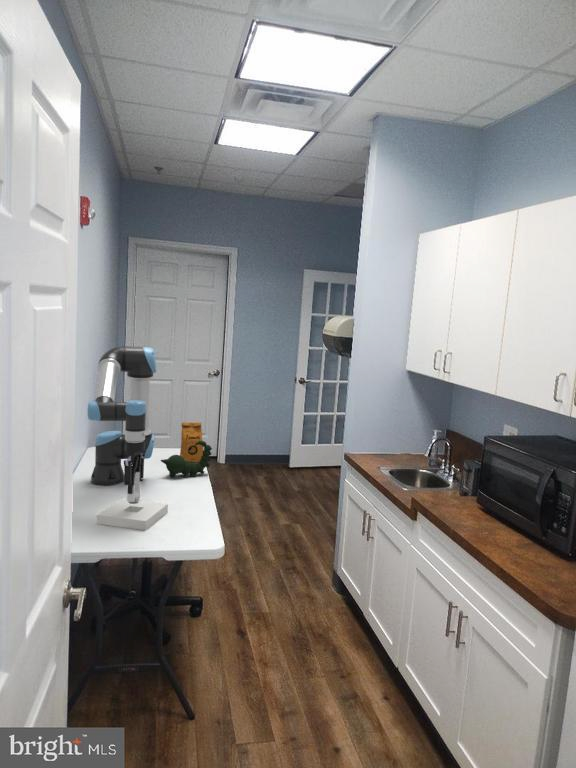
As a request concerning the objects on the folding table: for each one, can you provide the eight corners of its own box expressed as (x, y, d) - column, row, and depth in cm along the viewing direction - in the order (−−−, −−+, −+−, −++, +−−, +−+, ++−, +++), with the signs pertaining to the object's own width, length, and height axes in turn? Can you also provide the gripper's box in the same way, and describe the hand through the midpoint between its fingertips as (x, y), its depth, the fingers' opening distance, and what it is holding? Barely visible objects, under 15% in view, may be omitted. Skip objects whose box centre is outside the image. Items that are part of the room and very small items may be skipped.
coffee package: (203, 463, 297) (204, 424, 295) (180, 463, 294) (181, 423, 292) (202, 459, 307) (203, 420, 304) (179, 459, 304) (180, 420, 301)
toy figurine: (204, 475, 282) (156, 474, 271) (209, 439, 281) (161, 437, 269) (210, 480, 274) (160, 479, 262) (214, 443, 272) (165, 441, 261)
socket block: (122, 506, 225) (122, 498, 224) (167, 512, 221) (167, 503, 221) (96, 523, 205) (96, 514, 205) (145, 530, 202) (146, 521, 201)
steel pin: (131, 500, 215) (132, 470, 213) (140, 501, 214) (141, 471, 213) (126, 503, 211) (127, 473, 210) (136, 504, 210) (136, 474, 209)
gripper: (133, 446, 201) (132, 507, 203) (153, 437, 217) (152, 494, 220) (115, 444, 202) (113, 505, 205) (136, 435, 219) (134, 492, 221)
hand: (133, 499), depth 212 cm, fingers closed on steel pin, 4 cm apart
